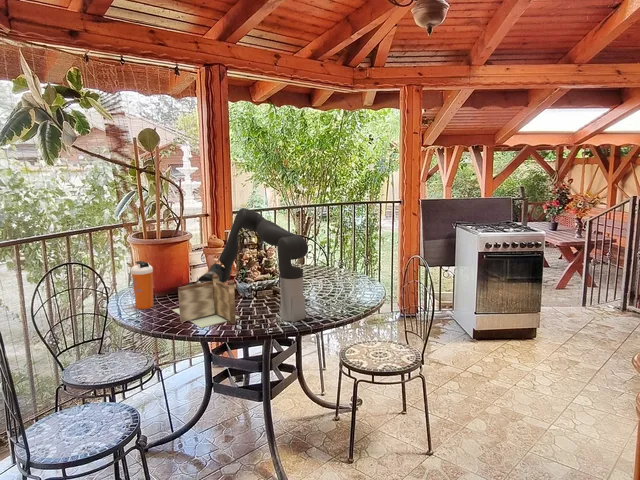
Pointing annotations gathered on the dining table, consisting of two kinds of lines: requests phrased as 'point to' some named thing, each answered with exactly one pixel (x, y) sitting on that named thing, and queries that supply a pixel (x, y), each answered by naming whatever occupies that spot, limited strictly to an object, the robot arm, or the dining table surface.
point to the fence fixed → (224, 299)
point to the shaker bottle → (143, 284)
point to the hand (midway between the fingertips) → (194, 291)
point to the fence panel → (196, 301)
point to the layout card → (206, 319)
